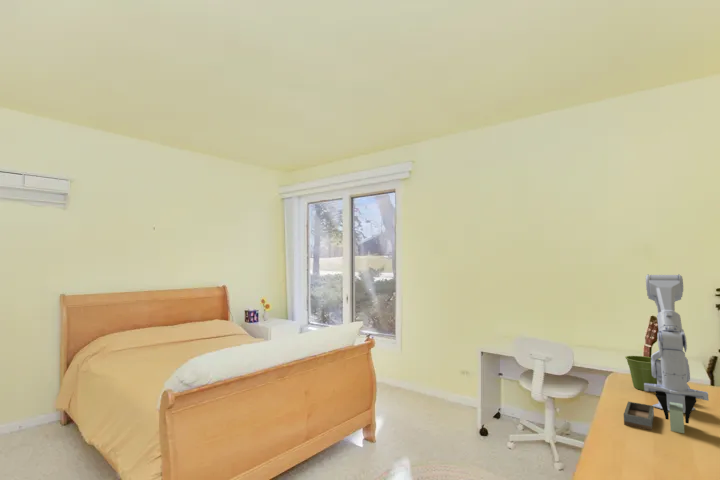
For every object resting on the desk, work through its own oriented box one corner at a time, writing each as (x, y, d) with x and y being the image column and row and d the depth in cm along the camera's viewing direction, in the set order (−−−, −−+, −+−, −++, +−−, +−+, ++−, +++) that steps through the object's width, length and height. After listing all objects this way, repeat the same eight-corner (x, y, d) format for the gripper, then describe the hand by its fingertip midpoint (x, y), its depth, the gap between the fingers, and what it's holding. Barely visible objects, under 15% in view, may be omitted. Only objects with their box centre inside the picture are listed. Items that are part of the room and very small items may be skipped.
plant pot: (666, 395, 140) (664, 364, 141) (627, 390, 146) (625, 360, 147) (663, 387, 150) (661, 357, 150) (626, 382, 156) (624, 354, 157)
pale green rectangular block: (671, 422, 117) (669, 401, 117) (683, 424, 115) (682, 404, 115) (670, 431, 110) (669, 409, 111) (684, 433, 108) (683, 411, 109)
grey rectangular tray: (628, 410, 126) (628, 401, 126) (654, 415, 121) (653, 405, 122) (624, 424, 115) (623, 414, 115) (651, 430, 111) (651, 419, 111)
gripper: (642, 371, 115) (645, 418, 114) (707, 380, 106) (711, 431, 105) (643, 366, 121) (646, 411, 120) (706, 374, 111) (709, 423, 110)
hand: (676, 420), depth 113 cm, fingers open, 4 cm apart
